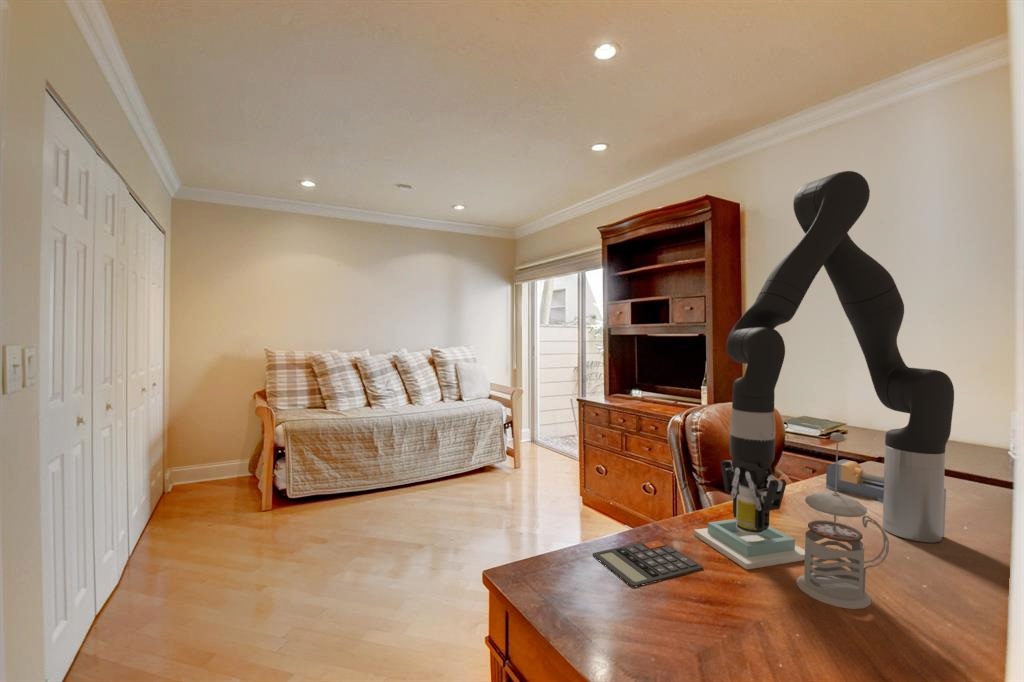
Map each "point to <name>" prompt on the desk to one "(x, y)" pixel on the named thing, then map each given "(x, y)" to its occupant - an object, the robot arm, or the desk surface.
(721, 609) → the desk surface
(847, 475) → the vise
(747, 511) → the supplement bottle
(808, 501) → the french press
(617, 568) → the calculator
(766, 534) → the dock socket
